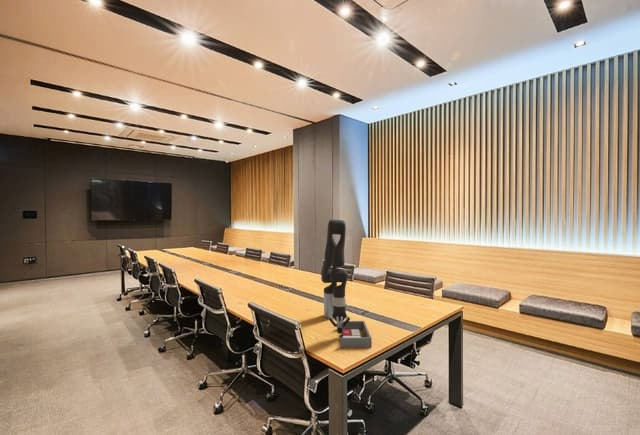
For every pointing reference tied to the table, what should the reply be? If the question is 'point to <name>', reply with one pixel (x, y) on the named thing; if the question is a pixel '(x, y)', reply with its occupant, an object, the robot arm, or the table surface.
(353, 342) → the box
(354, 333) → the calculator
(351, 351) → the table surface
